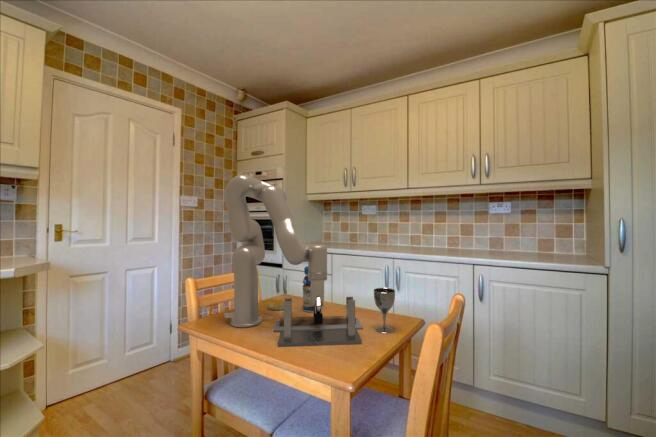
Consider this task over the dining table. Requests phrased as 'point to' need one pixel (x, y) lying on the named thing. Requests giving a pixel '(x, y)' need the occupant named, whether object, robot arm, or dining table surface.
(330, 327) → the grey mat
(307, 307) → the beverage bottle
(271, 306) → the bread roll
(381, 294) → the wine glass
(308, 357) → the dining table surface
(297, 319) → the walnut rail
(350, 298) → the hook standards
